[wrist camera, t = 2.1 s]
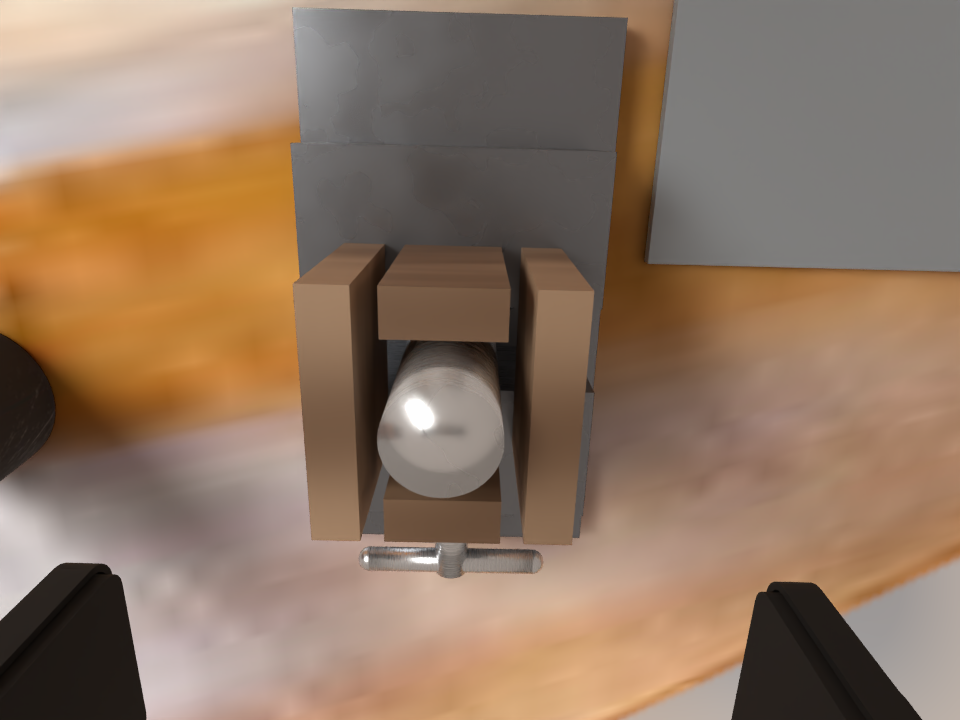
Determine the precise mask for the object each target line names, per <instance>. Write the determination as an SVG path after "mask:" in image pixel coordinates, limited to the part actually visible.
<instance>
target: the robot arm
mask: <svg viewBox="0 0 960 720" xmlns="http://www.w3.org/2000/svg"><path fill="white" fill-rule="evenodd" d="M0 720H146V710H145V704H144V699H143V693H142V688H141V682H140V677H139V672H138V666H137V661H136V655H135V650H134V644H133V639H132V634H131V628H130V623H129V617H128V612H127V606H126V601H125V596H124V590H123V585H122V581H121V578H120V577H119V576H118V575H115V574H112V572H111V569H110V568H109V567H108V566H107V565H105V564H93V563H63V564H60V565H58V566H57V567H56V568H54V569H53V570H52V571H51V572H50V573H49V574H48V575H47V576H46V577H45V578H44V579H43V580H42V581H41V582H40V583H39V584H38V585H37V586H36V587H35V588H34V589H33V590H32V591H31V592H30V593H29V594H27V595H26V596H25V597H24V598H23V599H22V600H21V601H20V602H19V603H18V604H17V605H16V606H15V607H14V608H13V609H12V610H11V611H10V612H9V613H8V614H7V615H6V616H5V617H4V618H3V619H2V620H1V621H0ZM731 720H922V719H921V718H920V716H919V715H918V714H917V712H916V711H915V710H914V709H913V707H912V706H911V705H910V703H909V702H908V701H907V699H906V698H905V697H904V696H903V695H902V694H901V693H900V692H899V691H898V689H897V688H896V687H895V685H894V684H893V683H892V682H891V680H890V679H889V678H888V676H887V675H886V674H885V672H884V671H883V670H882V669H881V667H880V666H879V664H878V663H877V662H876V661H875V659H874V658H873V657H872V655H871V654H870V653H869V651H868V650H867V649H866V648H865V646H864V645H863V644H862V642H861V641H860V640H859V638H858V637H857V636H856V635H855V633H854V632H853V631H852V629H851V628H850V627H849V625H848V624H847V623H846V621H845V620H844V619H843V617H842V616H841V615H840V614H839V612H838V611H837V610H836V608H835V607H834V606H833V604H832V603H831V602H830V601H829V599H828V598H827V597H826V595H825V594H824V593H823V591H822V590H821V589H820V588H819V587H818V586H817V585H816V584H813V583H804V582H773V583H771V584H770V585H769V586H768V589H767V592H759V593H758V595H757V596H756V600H755V604H754V609H753V614H752V619H751V624H750V629H749V634H748V639H747V644H746V649H745V654H744V659H743V664H742V669H741V674H740V679H739V685H738V690H737V694H736V699H735V705H734V709H733V714H732V719H731Z"/></svg>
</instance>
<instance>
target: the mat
mask: <svg viewBox="0 0 960 720" xmlns="http://www.w3.org/2000/svg"><path fill="white" fill-rule="evenodd" d="M644 261H645V262H646V263H648V264H676V265H716V266H755V267H794V268H833V269H873V270H912V271H951V272H960V0H674V6H673V14H672V23H671V32H670V41H669V49H668V58H667V67H666V76H665V84H664V93H663V102H662V111H661V119H660V128H659V137H658V146H657V154H656V163H655V172H654V181H653V189H652V198H651V207H650V216H649V224H648V233H647V242H646V251H645V260H644Z"/></svg>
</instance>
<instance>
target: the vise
mask: <svg viewBox="0 0 960 720" xmlns="http://www.w3.org/2000/svg"><path fill="white" fill-rule="evenodd" d="M292 12H293V28H294V43H295V59H296V74H297V90H298V105H299V120H300V136H301V143H291V157H292V172H293V186H294V200H295V214H296V229H297V243H298V257H299V272H300V278H301V277H302V276H303V275H304V274H306V273H307V272H308V271H310V270H311V269H312V268H313V267H315V266H316V265H317V264H318V263H320V262H321V261H322V260H323V259H325V258H326V257H327V256H328V255H330V254H331V253H332V252H333V251H335V250H336V249H337V248H339V247H340V246H341V245H342V244H344V243H364V244H385V273H386V272H387V271H388V269H389V268H390V266H391V265H392V263H393V262H394V260H395V259H396V257H397V256H398V254H399V253H400V251H401V250H402V248H403V247H404V245H442V246H481V247H501V248H502V253H503V257H504V262H505V266H506V271H507V275H508V279H509V284H510V288H511V294H510V317H509V340H508V342H469V341H426V340H387V359H388V401H387V404H386V407H385V410H384V413H383V416H382V419H381V422H380V424H379V428H378V433H377V445H378V451H379V455H380V458H381V461H382V463H383V464H382V467H381V471H380V474H379V478H378V481H377V485H376V488H375V492H374V495H373V498H372V502H371V505H370V509H369V512H368V516H367V519H366V523H365V526H364V530H363V533H362V534H384V509H383V498H384V495H385V491H386V487H387V483H388V479H389V475H391V476H392V477H393V478H394V479H395V480H396V481H397V482H398V483H399V484H401V485H402V486H403V487H405V488H407V489H408V490H410V491H412V492H415V493H417V494H420V495H423V496H428V497H433V498H450V497H457V496H460V495H464V494H467V493H469V492H471V491H473V490H475V489H477V488H479V487H480V486H481V485H483V484H484V483H485V482H486V481H487V480H488V479H489V478H490V477H491V476H492V475H493V474H494V472H495V471H496V469H497V468H498V466H499V473H500V488H501V523H500V536H506V537H523V534H522V525H521V517H520V508H519V499H518V491H517V482H516V474H515V465H514V456H513V448H512V430H513V409H514V389H515V368H516V347H517V326H518V306H519V285H520V264H521V248H559V249H562V250H563V251H564V252H565V254H566V255H567V256H568V258H569V259H570V260H571V262H572V263H573V264H574V265H575V267H576V268H577V269H578V271H579V272H580V273H581V275H582V276H583V277H584V278H585V280H586V281H587V282H588V284H589V285H590V286H591V288H592V289H593V290H594V301H593V312H592V323H591V335H590V346H589V357H588V368H587V379H586V391H585V402H584V413H583V424H582V436H581V447H580V458H579V469H578V481H577V492H576V503H575V514H574V526H573V537H572V538H579V536H580V525H581V516H583V508H584V497H585V487H586V476H587V465H588V455H589V444H590V433H591V423H592V412H593V402H594V391H593V386H594V375H595V364H596V354H597V343H598V332H599V321H600V311H601V310H602V306H603V295H604V285H605V274H606V264H607V253H608V242H609V232H610V221H611V210H612V200H613V189H614V179H615V168H616V157H617V152H615V150H616V139H617V129H618V118H619V107H620V96H621V86H622V75H623V64H624V54H625V43H626V32H627V21H628V18H614V17H582V16H549V15H517V14H484V13H452V12H419V11H387V10H354V9H322V8H292ZM359 564H360V566H361V567H362V568H363V569H365V570H368V571H413V572H437V574H439V575H440V576H442V577H445V578H457V577H460V576H462V575H463V574H465V572H467V573H520V574H534V573H537V572H539V571H540V570H541V568H542V566H543V558H542V555H541V554H540V553H539V552H538V551H536V550H529V549H476V548H468V543H438V542H435V548H424V547H372V546H371V547H366V548H364V549H363V550H362V551H361V553H360V555H359Z"/></svg>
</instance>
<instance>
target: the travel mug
mask: <svg viewBox="0 0 960 720" xmlns="http://www.w3.org/2000/svg"><path fill="white" fill-rule="evenodd" d="M54 420H55V402H54V396H53V393H52V389H51V386H50V384H49V382H48V380H47V378H46V376H45V374H44V373H43V371H42V370H41V368H40V367H39V365H38V364H37V363H36V362H35V360H34V359H33V358H32V357H31V356H30V355H29V354H28V353H27V352H26V351H25V350H23V349H22V348H21V347H20V346H19V345H17V344H16V343H15V342H13V341H12V340H10V339H9V338H7V337H5V336H3V335H1V334H0V481H1V480H2V479H4V478H5V477H6V476H7V475H9V474H10V473H11V472H13V471H14V470H15V469H16V468H18V467H19V466H20V465H21V464H23V463H24V462H25V461H26V460H28V459H29V458H30V457H31V456H32V455H34V454H35V453H36V452H37V451H38V450H39V449H40V448H41V447H42V446H43V444H44V443H45V442H46V440H47V439H48V437H49V435H50V433H51V431H52V428H53V425H54Z"/></svg>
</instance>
